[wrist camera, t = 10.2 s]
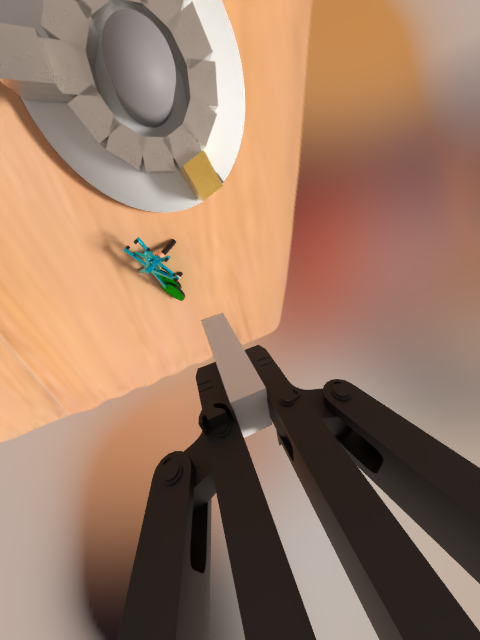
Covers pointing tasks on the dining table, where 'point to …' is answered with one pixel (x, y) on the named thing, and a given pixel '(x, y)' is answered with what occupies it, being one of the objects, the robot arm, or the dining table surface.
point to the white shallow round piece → (142, 103)
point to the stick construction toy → (153, 266)
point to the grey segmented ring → (84, 93)
